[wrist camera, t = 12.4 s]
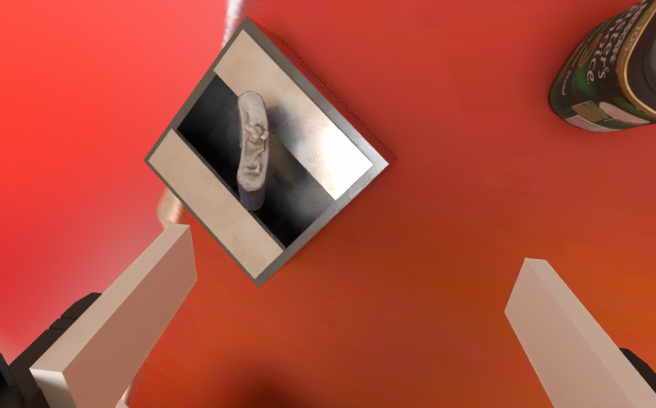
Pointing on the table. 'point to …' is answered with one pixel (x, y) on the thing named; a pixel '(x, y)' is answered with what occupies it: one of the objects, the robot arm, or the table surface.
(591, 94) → the coffee jar
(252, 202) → the flask
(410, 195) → the table surface
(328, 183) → the open box
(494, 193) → the table surface
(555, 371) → the robot arm
